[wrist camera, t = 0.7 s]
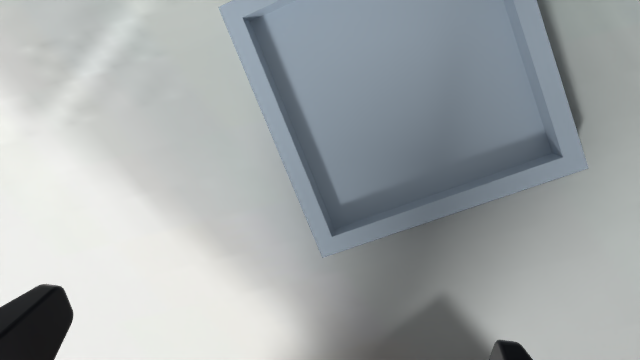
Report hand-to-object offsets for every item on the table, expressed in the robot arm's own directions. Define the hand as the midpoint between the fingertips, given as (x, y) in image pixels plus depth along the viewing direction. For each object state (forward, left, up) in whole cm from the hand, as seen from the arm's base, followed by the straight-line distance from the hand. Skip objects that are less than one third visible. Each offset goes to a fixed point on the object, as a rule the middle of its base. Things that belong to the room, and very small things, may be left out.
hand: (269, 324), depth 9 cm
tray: (+3, -5, -13) cm, 14 cm away
